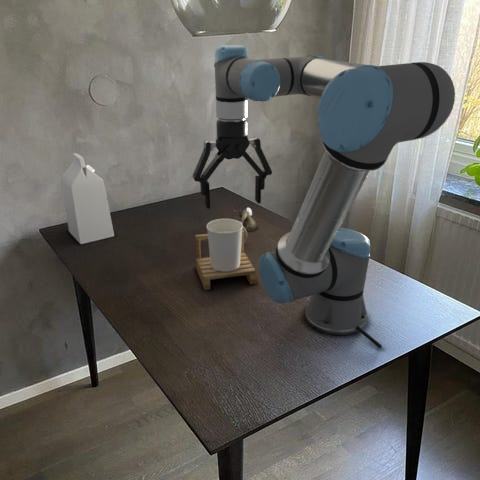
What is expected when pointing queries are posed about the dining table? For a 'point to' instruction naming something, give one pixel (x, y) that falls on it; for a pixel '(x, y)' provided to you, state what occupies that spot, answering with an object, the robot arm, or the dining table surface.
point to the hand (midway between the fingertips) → (233, 204)
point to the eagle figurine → (247, 218)
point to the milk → (86, 203)
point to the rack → (209, 273)
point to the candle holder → (224, 244)
